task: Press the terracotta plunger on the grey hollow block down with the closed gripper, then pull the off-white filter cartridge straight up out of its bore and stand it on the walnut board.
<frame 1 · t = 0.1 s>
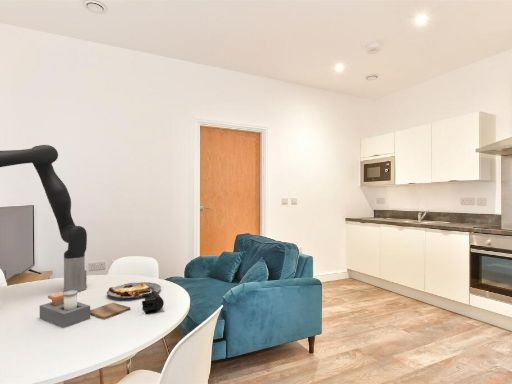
walnut board: (108, 311, 130), on the table
food plate: (134, 293, 155), on the table
grey hollow block: (64, 318, 124), on the table
end cap: (152, 310, 132), on the table
plunger: (58, 300, 126), point 6 cm above the table, slide at 0.0 cm
filter cartridge: (70, 320, 121), resting in grey hollow block
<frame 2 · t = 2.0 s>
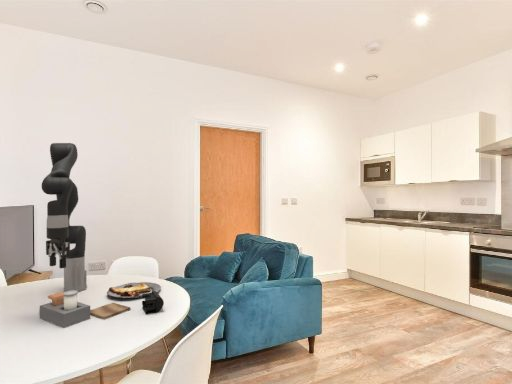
hand: (57, 266, 126), 20 cm above the table, tool pointing down, fingers open, 7 cm apart
nothing on the table moved.
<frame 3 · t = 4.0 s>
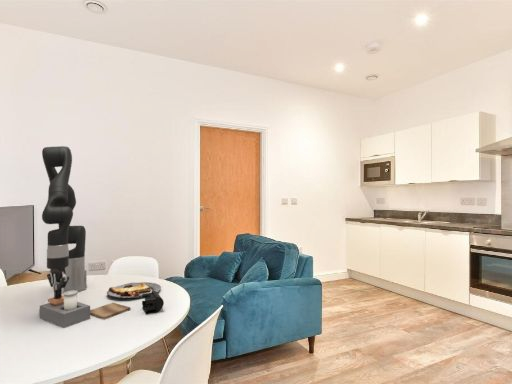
hand: (57, 298, 126), 7 cm above the table, tool pointing down, fingers closed
plunger: (58, 304, 126), point 5 cm above the table, slide at 1.5 cm, touching gripper
everything else where it was.
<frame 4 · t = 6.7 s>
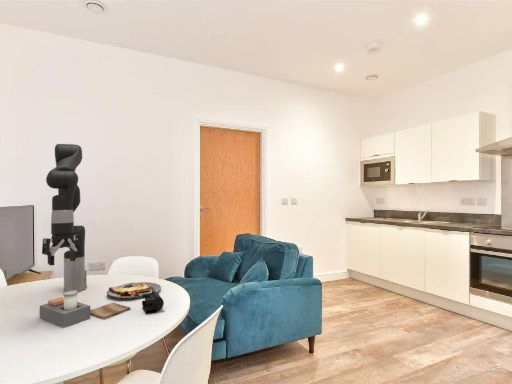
hand: (62, 263, 121), 22 cm above the table, tool pointing down, fingers open, 8 cm apart
plunger: (58, 305, 126), point 4 cm above the table, slide at 2.1 cm
everything else where it was.
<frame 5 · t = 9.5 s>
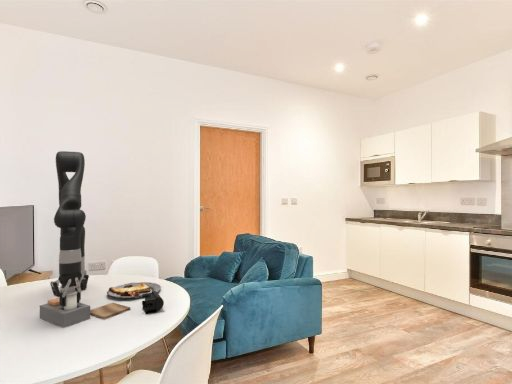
hand: (70, 303, 122), 6 cm above the table, tool pointing down, fingers closed on filter cartridge, 4 cm apart
filter cartridge: (70, 320, 121), resting in grey hollow block, touching gripper
everything else where it was.
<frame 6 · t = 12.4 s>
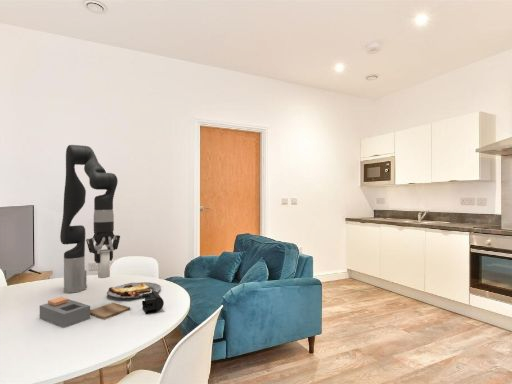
hand: (103, 261, 129), 21 cm above the table, tool pointing down, fingers closed on filter cartridge, 4 cm apart
filter cartridge: (103, 276, 129), point 15 cm above the table, touching gripper
everything else where it was.
when the fingers open (9 cm above the table, at t = 15.4 s): filter cartridge drops 1 cm, resting on walnut board.
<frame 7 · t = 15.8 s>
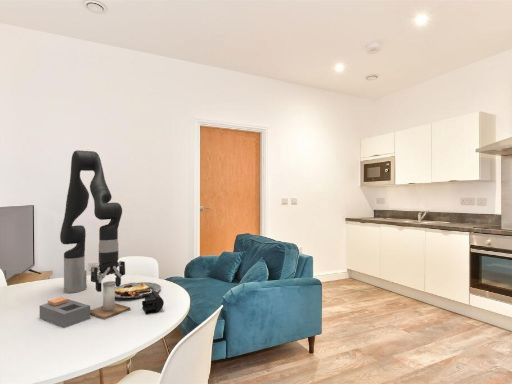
hand: (108, 288, 130), 10 cm above the table, tool pointing down, fingers open, 8 cm apart
filter cartridge: (108, 309, 130), point 1 cm above the table, touching walnut board
everything else where it was.
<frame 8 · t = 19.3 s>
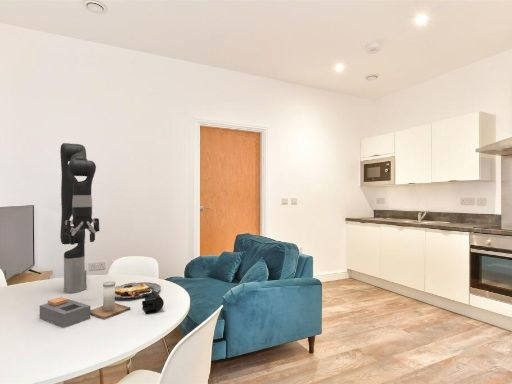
hand: (82, 243, 135), 28 cm above the table, tool pointing down, fingers open, 8 cm apart
nothing on the table moved.
at the end: plunger slide at 2.1 cm; filter cartridge inside the target area on the walnut board (0.0 cm from its centre), point 1.0 cm above the walnut board's base; filter cartridge tilted 1° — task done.
